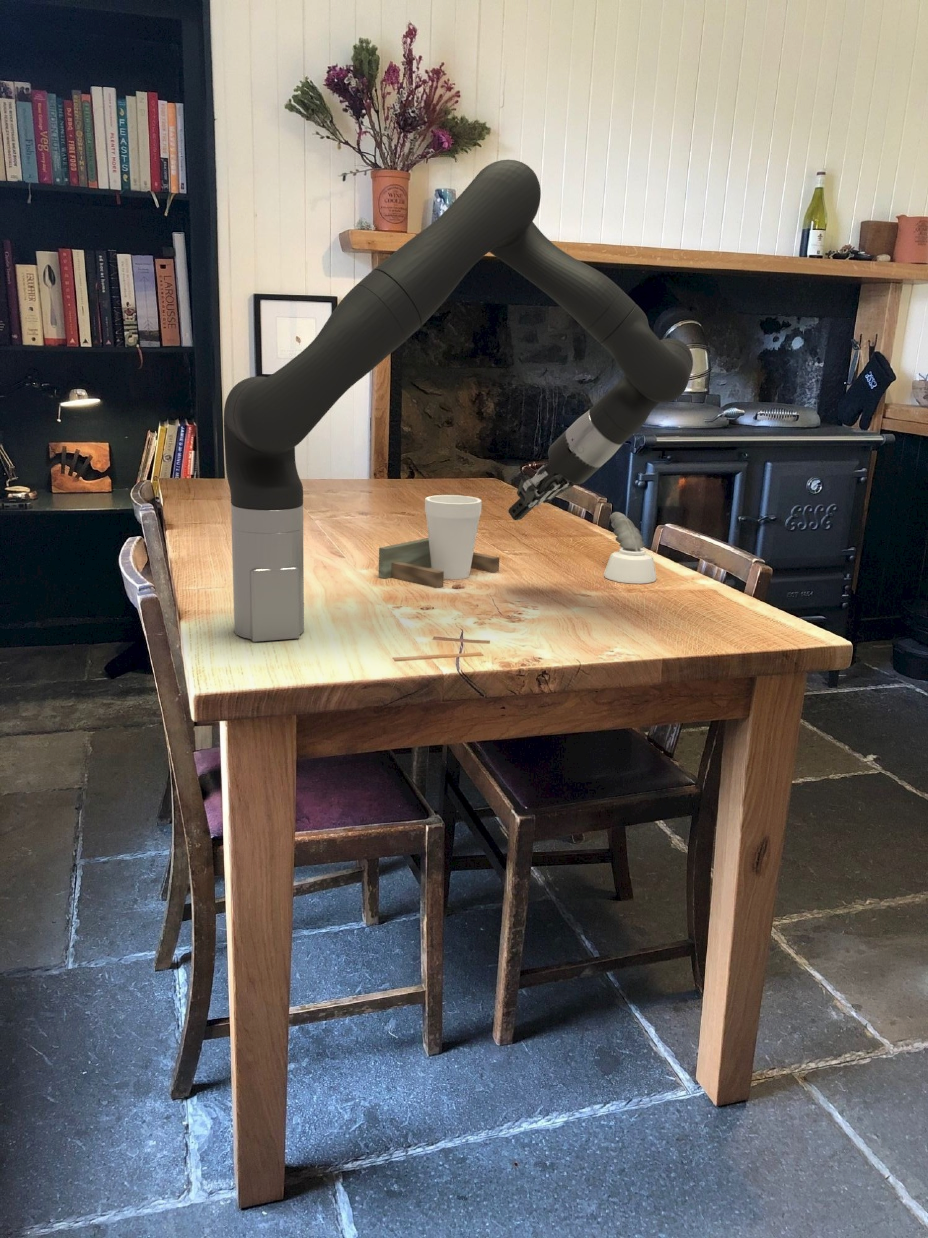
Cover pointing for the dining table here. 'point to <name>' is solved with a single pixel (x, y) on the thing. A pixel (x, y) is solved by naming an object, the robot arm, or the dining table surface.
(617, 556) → the inkwell
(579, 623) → the dining table surface
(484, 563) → the dock
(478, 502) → the foam cup
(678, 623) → the dining table surface
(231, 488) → the robot arm
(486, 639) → the dining table surface
